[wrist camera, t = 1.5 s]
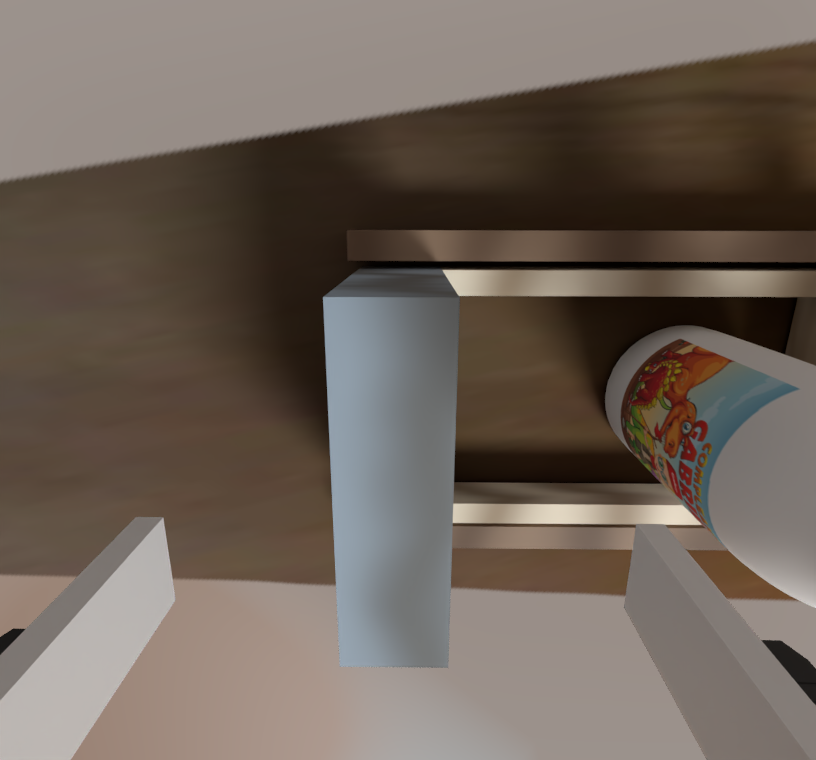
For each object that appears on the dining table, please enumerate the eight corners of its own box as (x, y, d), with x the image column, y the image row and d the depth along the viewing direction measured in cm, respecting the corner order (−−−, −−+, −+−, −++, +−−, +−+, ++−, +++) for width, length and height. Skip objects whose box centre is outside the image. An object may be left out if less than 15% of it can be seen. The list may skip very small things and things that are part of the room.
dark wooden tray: (360, 523, 31) (356, 547, 29) (352, 229, 26) (346, 230, 24) (801, 527, 31) (832, 551, 29) (877, 231, 26) (922, 231, 24)
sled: (367, 499, 30) (339, 666, 19) (362, 266, 26) (322, 296, 15) (782, 502, 30) (1010, 673, 19) (839, 267, 26) (1172, 300, 15)
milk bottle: (703, 294, 27) (1410, 460, 8) (763, 407, 29) (1459, 767, 10) (575, 374, 28) (911, 682, 9) (640, 477, 30) (1035, 916, 11)
